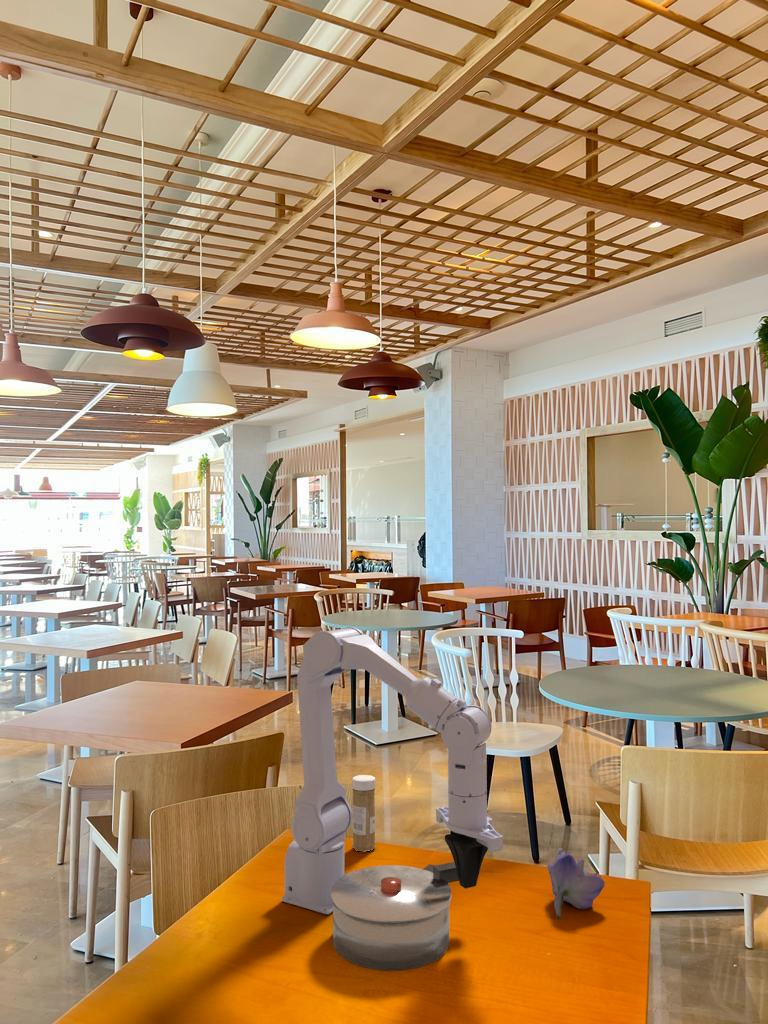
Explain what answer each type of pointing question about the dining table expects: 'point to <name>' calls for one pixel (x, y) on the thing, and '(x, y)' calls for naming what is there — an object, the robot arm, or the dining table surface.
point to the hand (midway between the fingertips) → (468, 885)
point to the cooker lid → (394, 893)
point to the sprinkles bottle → (363, 812)
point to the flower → (573, 882)
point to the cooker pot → (391, 941)
